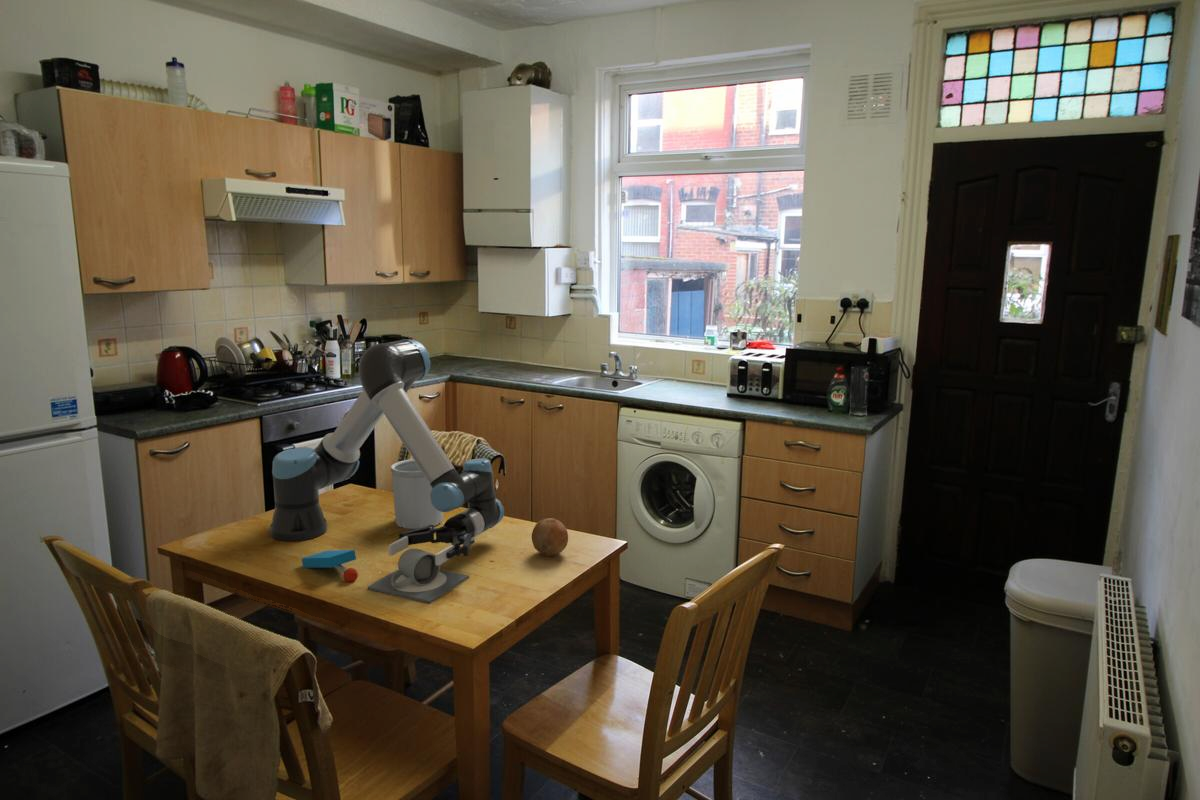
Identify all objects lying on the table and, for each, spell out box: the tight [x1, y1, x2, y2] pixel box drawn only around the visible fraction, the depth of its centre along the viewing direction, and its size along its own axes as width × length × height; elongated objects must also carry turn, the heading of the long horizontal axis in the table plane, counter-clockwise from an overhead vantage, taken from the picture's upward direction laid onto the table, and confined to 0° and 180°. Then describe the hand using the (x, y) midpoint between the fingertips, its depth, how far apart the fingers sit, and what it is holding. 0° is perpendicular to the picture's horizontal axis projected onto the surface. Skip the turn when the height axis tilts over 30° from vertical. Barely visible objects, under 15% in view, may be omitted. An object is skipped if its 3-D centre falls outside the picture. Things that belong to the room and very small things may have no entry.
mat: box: [367, 568, 470, 604], centre depth 190 cm, size 18×16×1 cm
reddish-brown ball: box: [531, 517, 569, 557], centre depth 208 cm, size 10×10×10 cm
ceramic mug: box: [391, 548, 441, 588], centre depth 188 cm, size 11×8×8 cm
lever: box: [301, 549, 359, 583], centre depth 196 cm, size 7×7×18 cm
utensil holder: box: [390, 458, 444, 530], centre depth 231 cm, size 15×15×18 cm
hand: (412, 555), depth 186 cm, fingers open, 13 cm apart
